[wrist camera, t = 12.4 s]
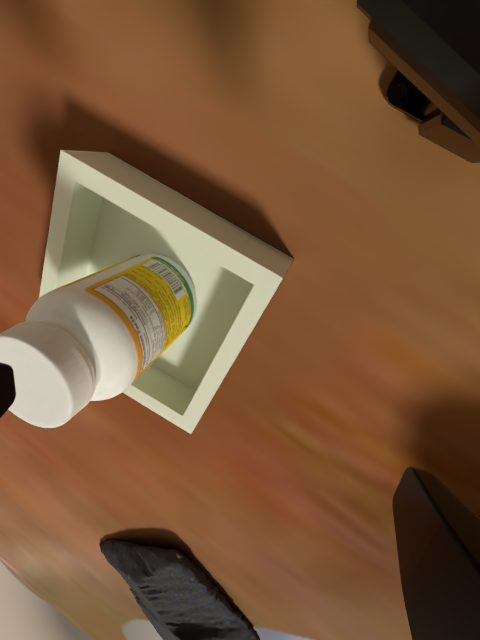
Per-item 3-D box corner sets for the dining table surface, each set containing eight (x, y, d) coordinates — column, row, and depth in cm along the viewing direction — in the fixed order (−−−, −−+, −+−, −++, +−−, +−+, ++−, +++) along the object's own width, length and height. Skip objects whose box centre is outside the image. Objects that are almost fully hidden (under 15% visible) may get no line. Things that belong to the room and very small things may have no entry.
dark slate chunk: (201, 530, 32) (179, 584, 28) (285, 662, 38) (278, 722, 34) (94, 531, 38) (63, 575, 34) (180, 644, 44) (163, 693, 40)
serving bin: (108, 152, 18) (60, 149, 15) (294, 258, 18) (283, 278, 15) (72, 316, 24) (33, 337, 21) (211, 399, 24) (191, 434, 21)
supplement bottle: (198, 256, 18) (74, 332, 10) (200, 340, 21) (100, 458, 12) (115, 246, 20) (-57, 306, 11) (125, 326, 22) (-11, 424, 14)
